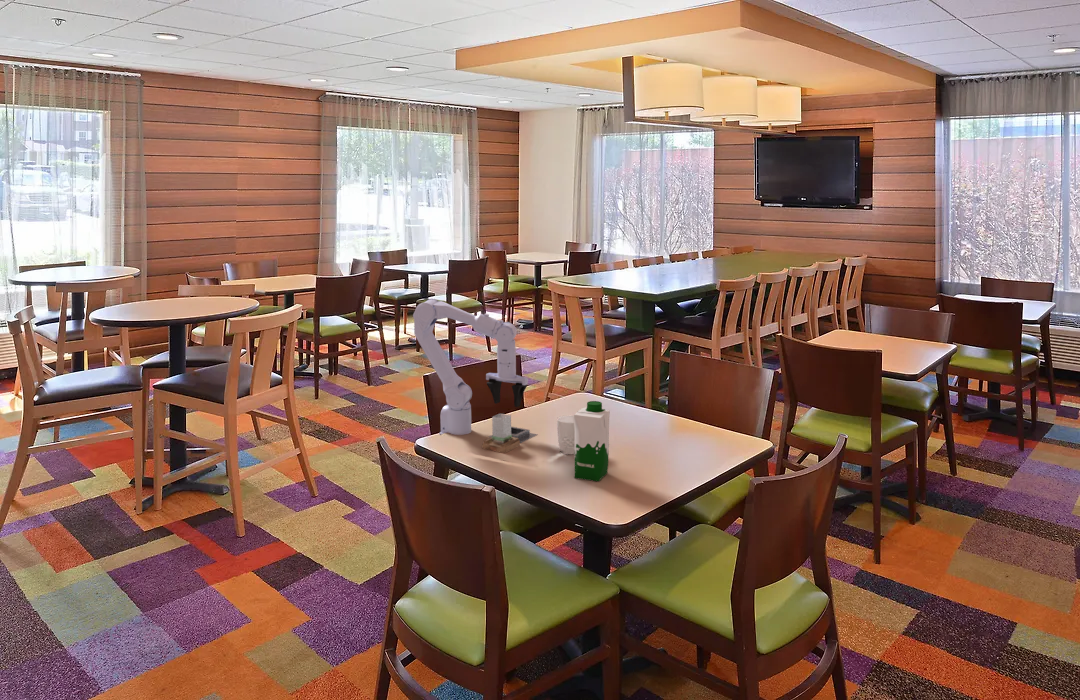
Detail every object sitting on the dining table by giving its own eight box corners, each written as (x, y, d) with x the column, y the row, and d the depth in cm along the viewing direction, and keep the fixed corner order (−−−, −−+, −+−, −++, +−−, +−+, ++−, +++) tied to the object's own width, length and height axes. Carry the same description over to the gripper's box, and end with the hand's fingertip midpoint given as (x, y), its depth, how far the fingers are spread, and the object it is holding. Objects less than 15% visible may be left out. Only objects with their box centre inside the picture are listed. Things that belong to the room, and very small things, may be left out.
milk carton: (611, 472, 216) (612, 402, 212) (600, 483, 208) (601, 411, 204) (581, 468, 220) (582, 399, 216) (569, 478, 212) (570, 407, 208)
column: (492, 442, 234) (491, 416, 233) (500, 438, 238) (499, 413, 236) (503, 444, 232) (503, 418, 231) (511, 440, 236) (511, 415, 234)
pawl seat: (482, 451, 234) (482, 441, 233) (497, 444, 241) (497, 433, 240) (504, 456, 230) (504, 445, 229) (519, 448, 237) (519, 438, 236)
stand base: (488, 439, 245) (488, 432, 244) (506, 431, 253) (506, 424, 253) (520, 446, 239) (520, 438, 238) (537, 437, 247) (537, 429, 247)
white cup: (581, 456, 230) (581, 423, 228) (554, 454, 231) (554, 421, 229) (585, 447, 237) (585, 415, 235) (559, 446, 239) (559, 414, 237)
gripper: (533, 362, 243) (533, 404, 246) (494, 357, 251) (495, 398, 253) (520, 366, 237) (521, 409, 240) (481, 361, 245) (482, 403, 247)
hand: (507, 404), depth 246 cm, fingers open, 7 cm apart
